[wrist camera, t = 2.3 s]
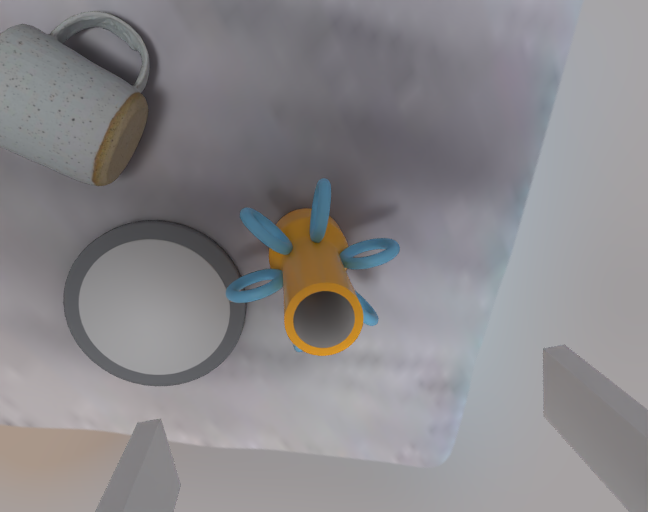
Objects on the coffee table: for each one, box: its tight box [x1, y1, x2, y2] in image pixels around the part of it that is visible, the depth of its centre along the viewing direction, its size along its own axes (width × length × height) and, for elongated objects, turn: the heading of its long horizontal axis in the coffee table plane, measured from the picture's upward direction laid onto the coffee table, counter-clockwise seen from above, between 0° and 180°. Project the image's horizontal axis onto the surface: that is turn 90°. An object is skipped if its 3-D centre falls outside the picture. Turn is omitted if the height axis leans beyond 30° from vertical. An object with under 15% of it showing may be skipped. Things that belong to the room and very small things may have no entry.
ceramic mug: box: [0, 11, 150, 186], centre depth 29 cm, size 11×8×8 cm
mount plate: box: [63, 220, 246, 386], centre depth 37 cm, size 14×14×1 cm
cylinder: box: [226, 178, 400, 356], centre depth 30 cm, size 12×10×15 cm
